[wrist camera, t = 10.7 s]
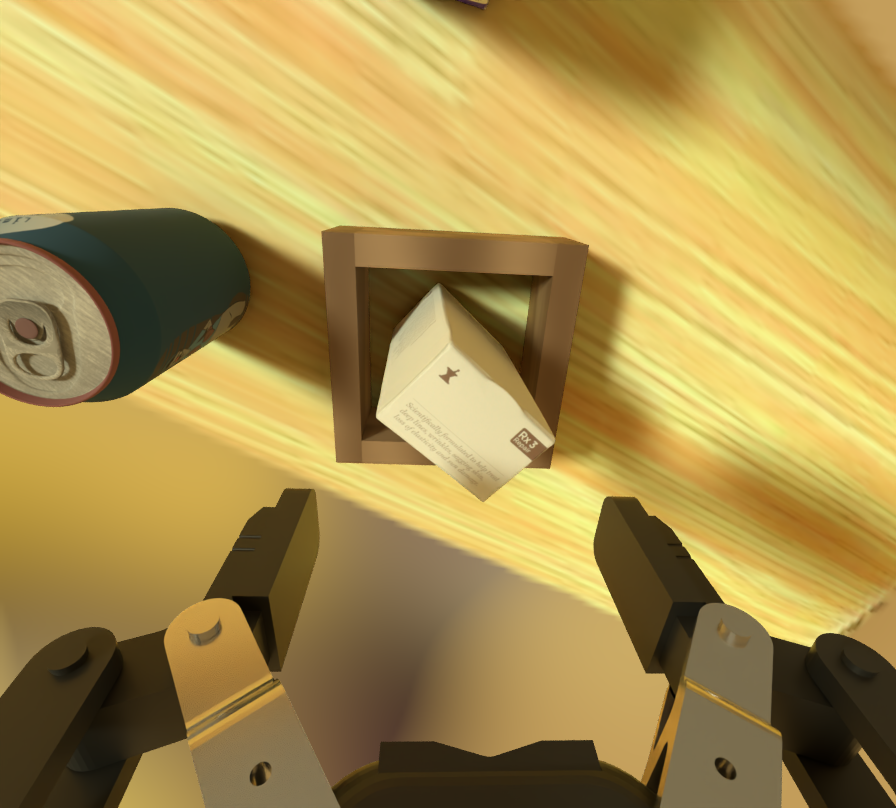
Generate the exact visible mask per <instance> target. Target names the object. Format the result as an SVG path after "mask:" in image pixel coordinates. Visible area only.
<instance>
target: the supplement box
mask: <svg viewBox="0 0 896 808" xmlns="http://www.w3.org/2000/svg"><path fill="white" fill-rule="evenodd" d="M457 1H460V2H463V3H466V4H469V5H472V6H475V7H478V8H480V9H483V10H485V9H486V7H487V5H488V2H489V0H457Z"/></svg>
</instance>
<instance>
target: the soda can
mask: <svg viewBox="0 0 896 808" xmlns="http://www.w3.org/2000/svg"><path fill="white" fill-rule="evenodd" d="M249 299H250V277H249V272H248V269H247V266H246V263H245V260H244V258H243V256H242V254H241V253H240V251H239V249H238V248H237V246H236V245H235V243H234V242H233V241H232V240H231V238H230V237H229V236H228V235H227V234H226V233H225V232H224V231H223V230H222V229H220V228H219V227H218V226H217V225H215V224H214V223H212V222H211V221H209V220H208V219H206V218H204V217H202V216H200V215H198V214H195V213H193V212H190V211H186V210H182V209H175V208H159V209H138V210H118V211H97V212H77V213H56V214H35V215H16V216H9V217H5V218H1V219H0V393H1V394H3V395H5V396H8V397H10V398H13V399H15V400H18V401H21V402H25V403H28V404H33V405H38V406H46V407H61V406H62V407H63V406H70V405H74V404H78V403H81V402H102V401H109V400H114V399H118V398H121V397H124V396H126V395H128V394H130V393H132V392H134V391H135V390H137V389H138V388H140V387H142V386H143V385H145V384H146V383H148V382H149V381H151V380H152V379H154V378H156V377H157V376H159V375H160V374H162V373H163V372H165V371H166V370H168V369H170V368H171V367H173V366H174V365H176V364H177V363H179V362H180V361H182V360H184V359H185V358H187V357H188V356H190V355H191V354H193V353H194V352H196V351H198V350H199V349H201V348H202V347H204V346H205V345H207V344H208V343H210V342H212V341H213V340H215V339H216V338H218V337H219V336H221V335H222V334H224V333H226V332H227V331H229V330H230V329H231V328H233V327H234V326H235V325H236V324H237V323H238V322H239V321H240V319H241V318H242V317H243V315H244V313H245V311H246V309H247V306H248V303H249Z"/></svg>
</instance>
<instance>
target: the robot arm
mask: <svg viewBox="0 0 896 808" xmlns="http://www.w3.org/2000/svg"><path fill="white" fill-rule="evenodd" d="M318 548H319V524H318V512H317V502H316V493H315V490H314V489H289V488H288V489H287V488H286V489H285V490H284V491H283V493H282V495H281V497H280V499H279V501H278V503H277V505H276V507H263V508H262V509H261V510H259V511H258V512H257V513H256V514H254V515H253V516H252V517H251V518H250V519H249V520H248V521H247V523H246V525H245V526H244V528H243V530H242V531H241V533H240V535H239V538H238V539H237V541H236V542H235V544H234V546H233V549H232V551H230V553H229V555H228V557H227V558H226V560H225V562H224V564H223V566H222V567H221V569H220V571H219V573H218V575H217V576H216V578H215V580H214V582H213V584H212V585H211V587H210V589H209V591H208V593H207V594H206V596H205V598H204V599H203V601H201V602H199V603H196V604H194V605H192V606H190V607H189V608H187V609H186V610H184V611H183V612H182V613H180V614H179V615H178V616H177V617H176V618H175V619H174V620H173V621H172V623H171V624H170V625H169V627H168V628H167V629H165V630H162V631H159V632H155V633H152V634H148V635H144V636H140V637H136V638H133V639H129V640H124V641H121V642H117V641H116V638H115V636H114V635H113V633H112V632H110V631H109V630H107V629H105V628H100V627H90V628H84V629H79V630H76V631H73V632H70V633H68V634H66V635H63V636H61V637H60V638H58V639H56V640H54V641H53V642H51V643H49V644H48V645H46V646H45V647H44V648H43V649H41V650H40V651H39V652H38V653H37V654H36V655H34V656H33V658H32V659H31V660H30V661H29V662H28V663H27V664H26V666H25V667H24V668H23V670H22V671H21V672H20V673H19V675H18V676H17V677H16V678H15V680H14V681H13V682H12V683H11V685H10V686H9V687H8V689H7V690H6V691H5V692H4V694H3V695H2V696H1V698H0V808H118V806H119V804H120V802H121V800H122V798H123V796H124V793H125V791H126V789H127V787H128V785H129V782H130V780H131V778H132V776H133V773H134V771H135V769H136V767H137V765H138V763H139V761H140V758H141V756H142V754H143V753H145V752H148V751H151V750H154V749H157V748H160V747H163V746H166V745H169V744H171V743H175V742H178V741H180V740H183V739H186V738H188V743H189V746H190V751H191V754H192V758H193V762H194V766H195V770H196V773H197V777H198V781H199V785H200V789H201V792H202V796H203V800H204V804H205V808H781V793H782V792H781V791H782V760H783V762H784V764H785V766H786V767H787V769H788V771H789V773H790V775H791V776H792V778H793V780H794V782H795V783H796V785H797V787H798V788H799V790H800V792H801V794H802V796H803V798H804V799H805V801H806V803H807V805H808V806H809V808H896V806H895V804H894V803H893V802H892V800H891V799H890V797H889V796H888V795H887V793H886V792H885V790H884V789H883V787H882V786H881V785H880V783H879V782H878V781H877V779H876V778H875V776H874V775H873V773H872V772H871V770H870V769H869V768H868V766H867V765H866V763H865V762H864V761H863V759H862V758H861V757H860V755H859V754H858V752H859V751H860V749H861V748H863V749H864V751H865V752H866V753H867V755H868V756H869V757H870V759H871V760H872V762H873V763H874V764H875V766H876V767H877V769H878V770H879V771H880V773H881V774H882V775H883V777H884V778H885V780H886V781H887V782H888V784H889V785H890V786H891V788H892V789H893V791H894V792H895V794H896V669H895V668H894V667H893V666H892V665H891V664H890V663H889V662H888V661H887V660H886V659H884V658H883V657H882V656H881V655H880V654H878V653H877V652H876V651H874V650H873V649H871V648H870V647H868V646H866V645H865V644H862V643H861V642H859V641H857V640H855V639H852V638H850V637H847V636H844V635H840V634H834V633H826V634H822V635H820V636H818V638H817V639H816V640H815V642H814V644H813V645H812V647H807V646H803V645H800V644H796V643H792V642H789V641H785V640H782V639H778V638H774V637H771V636H769V634H768V632H767V631H766V630H765V628H764V627H763V626H762V625H761V624H760V623H759V622H758V621H757V620H755V619H754V618H753V617H752V616H750V615H749V614H747V613H745V612H744V611H742V610H740V609H738V608H736V607H733V606H730V605H727V604H725V603H724V602H723V601H722V599H721V598H720V596H719V595H718V594H717V592H716V591H715V589H714V588H713V587H712V585H711V584H710V582H709V581H708V580H707V578H706V577H705V575H704V574H703V572H702V571H701V570H700V568H699V567H698V565H697V564H696V563H695V561H694V560H693V559H691V556H690V554H689V553H688V551H687V550H686V549H685V547H682V543H681V542H680V540H679V539H678V537H677V536H676V535H675V533H674V532H673V530H672V529H671V528H670V527H668V526H667V525H666V524H665V523H663V522H662V521H661V520H660V519H658V518H657V517H656V516H648V514H647V513H646V511H645V510H644V508H643V507H642V505H641V504H640V502H639V501H638V500H637V499H636V498H635V497H606V498H605V500H604V502H603V505H602V509H601V513H600V517H599V521H598V525H597V529H596V533H595V537H594V555H595V559H596V562H597V565H598V567H599V569H600V571H601V574H602V576H603V578H604V580H605V583H606V585H607V587H608V589H609V592H610V594H611V596H612V598H613V600H614V603H615V605H616V607H617V609H618V612H619V614H620V616H621V618H622V621H623V623H624V625H625V627H626V630H627V632H628V634H629V636H630V638H631V641H632V643H633V645H634V648H635V650H636V652H637V654H638V656H639V659H640V661H641V663H642V665H643V668H644V670H645V672H646V673H665V675H666V678H667V680H668V682H669V685H668V687H667V690H666V693H665V696H664V700H663V704H662V708H661V712H660V715H659V719H658V723H657V727H656V731H655V735H654V738H653V742H652V746H651V750H650V754H649V757H648V761H647V764H646V768H645V771H644V774H643V776H642V779H641V782H640V781H638V780H637V779H636V778H634V777H633V776H632V775H630V774H628V773H626V772H625V771H623V770H621V769H619V768H617V767H615V766H613V765H611V764H608V763H606V762H604V761H600V760H598V757H597V753H596V750H595V746H594V743H593V740H568V741H539V742H536V743H533V744H530V745H527V746H524V747H521V748H518V749H515V750H512V751H509V752H506V753H503V754H500V755H497V756H493V757H486V756H482V755H479V754H475V753H471V752H468V751H464V750H461V749H458V748H455V747H451V746H448V745H444V744H441V743H437V742H434V741H432V742H381V745H380V756H379V760H378V761H376V762H372V763H369V764H367V765H365V766H363V767H361V768H358V769H357V770H355V771H353V772H351V773H350V774H348V775H347V776H345V777H344V778H342V779H341V780H340V781H339V782H337V783H336V784H335V785H334V786H332V787H330V785H329V783H328V781H327V778H326V776H325V774H324V772H323V770H322V768H321V766H320V764H319V761H318V759H317V757H316V755H315V753H314V751H313V749H312V747H311V745H310V743H309V740H308V738H307V736H306V734H305V732H304V730H303V728H302V726H301V723H300V721H299V719H298V717H297V715H296V713H295V711H294V709H293V706H292V705H291V702H290V700H289V698H288V696H287V694H286V692H285V690H284V688H283V686H282V684H281V682H280V681H279V680H278V679H276V680H274V679H273V677H272V675H271V673H270V672H271V671H272V672H273V671H274V672H278V671H281V670H282V667H283V664H284V660H285V657H286V654H287V651H288V648H289V644H290V641H291V638H292V635H293V631H294V628H295V625H296V622H297V619H298V616H299V612H300V609H301V606H302V603H303V600H304V596H305V593H306V590H307V587H308V584H309V580H310V577H311V574H312V571H313V568H314V565H315V561H316V558H317V554H318Z"/></svg>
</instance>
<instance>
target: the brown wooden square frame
mask: <svg viewBox="0 0 896 808" xmlns="http://www.w3.org/2000/svg"><path fill="white" fill-rule="evenodd" d="M322 246H323V262H324V278H325V293H326V309H327V324H328V340H329V355H330V371H331V387H332V402H333V418H334V433H335V449H336V462H338V463H373V464H407V465H435V464H434V463H433V462H432V461H430V460H429V459H428V458H427V457H425V456H424V455H423V454H421V453H420V452H419V451H418V450H416V449H415V448H414V447H413V446H411V445H410V444H409V443H407V442H406V441H405V440H404V439H402V438H401V437H400V436H399V435H397V434H396V433H395V432H393V431H392V430H391V429H390V428H388V427H387V426H386V425H384V424H383V423H382V422H381V421H379V420H378V419H377V418H376V412H377V407H372V400H371V357H370V315H369V272H368V267H376V268H397V269H417V270H438V271H458V272H479V273H500V274H520V275H533V279H532V287H531V295H530V302H529V310H528V318H527V326H526V334H525V342H524V349H523V357H522V365H521V373H520V377H521V379H522V380H523V382H524V384H525V386H526V387H527V389H528V391H529V392H530V394H531V396H532V398H533V399H534V401H535V403H536V405H537V406H538V408H539V410H540V412H541V413H542V415H543V417H544V419H545V420H546V422H547V424H548V426H549V428H550V430H551V431H552V433H553V435H554V437H556V431H557V425H558V420H559V414H560V408H561V402H562V397H563V391H564V385H565V379H566V374H567V368H568V362H569V356H570V351H571V345H572V339H573V333H574V328H575V322H576V316H577V310H578V305H579V299H580V293H581V287H582V282H583V276H584V270H585V265H586V259H587V253H588V247H589V245H586V244H583V243H580V242H577V241H574V240H571V239H568V238H564V237H547V236H528V235H509V234H490V233H471V232H452V231H433V230H414V229H395V228H376V227H357V226H337V227H334V228H331V229H328V230H325V231H322ZM553 448H554V444H553V445H552V446H551V447H549V448H548V449H547V450H546V451H544V452H543V453H542V454H541V455H540V456H538V457H537V458H536V459H535V460H533V461H532V462H531V463H530V464H529V465H528V466H526V467H525V468H546V469H550V465H551V460H552V454H553Z"/></svg>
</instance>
